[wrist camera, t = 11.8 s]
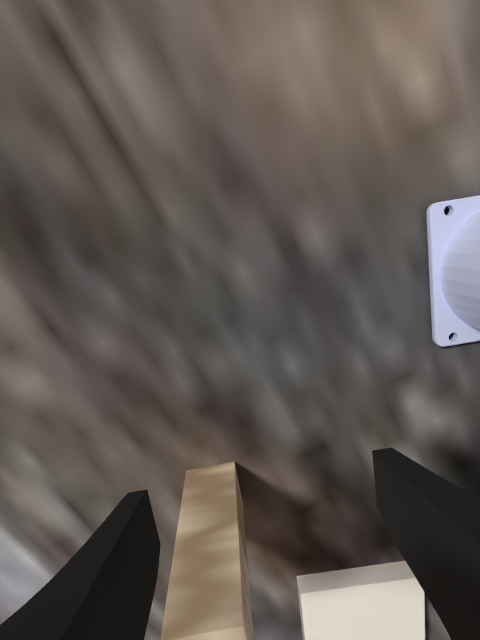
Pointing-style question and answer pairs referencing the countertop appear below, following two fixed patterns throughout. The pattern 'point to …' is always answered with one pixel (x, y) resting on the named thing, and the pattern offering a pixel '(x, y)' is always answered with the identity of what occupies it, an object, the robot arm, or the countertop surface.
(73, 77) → the countertop surface
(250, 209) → the countertop surface
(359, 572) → the tile
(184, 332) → the countertop surface
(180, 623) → the stick
